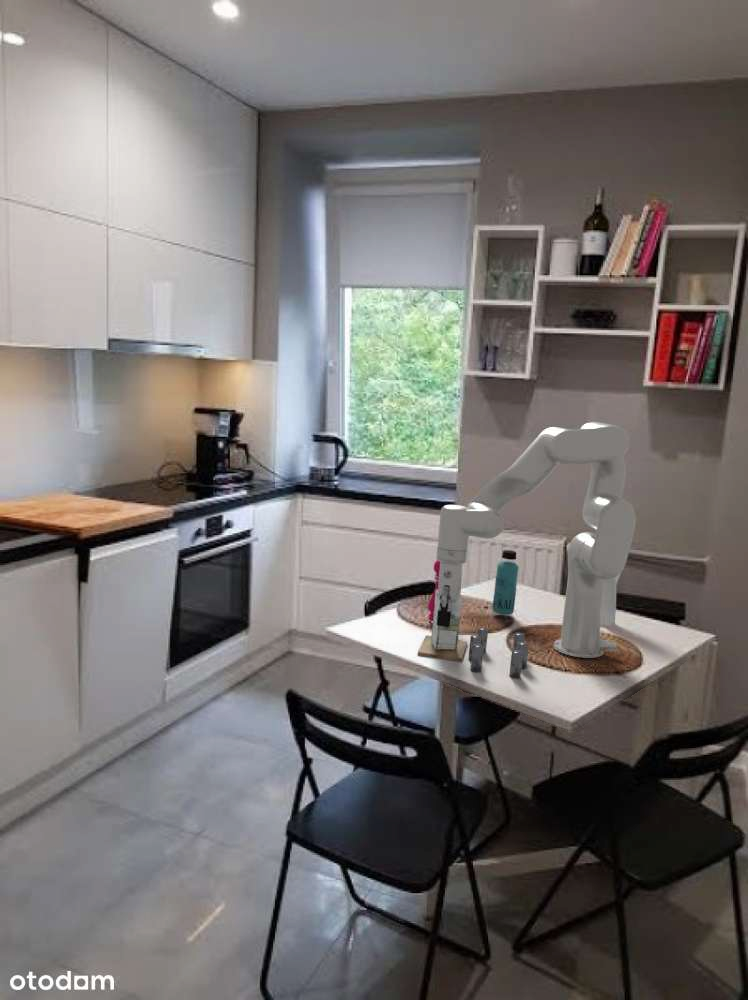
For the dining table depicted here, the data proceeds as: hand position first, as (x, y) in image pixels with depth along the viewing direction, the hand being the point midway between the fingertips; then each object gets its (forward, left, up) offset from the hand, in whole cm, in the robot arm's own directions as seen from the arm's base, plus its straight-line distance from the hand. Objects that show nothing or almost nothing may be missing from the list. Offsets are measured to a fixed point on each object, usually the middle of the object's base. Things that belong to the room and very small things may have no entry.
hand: (445, 620), depth 191 cm
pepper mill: (+4, -22, -8) cm, 24 cm away
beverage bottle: (-13, -35, -8) cm, 38 cm away
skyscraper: (-42, -42, -8) cm, 60 cm away
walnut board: (0, 0, -8) cm, 8 cm away
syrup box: (0, 0, -7) cm, 7 cm away
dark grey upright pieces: (-14, +4, -8) cm, 17 cm away
